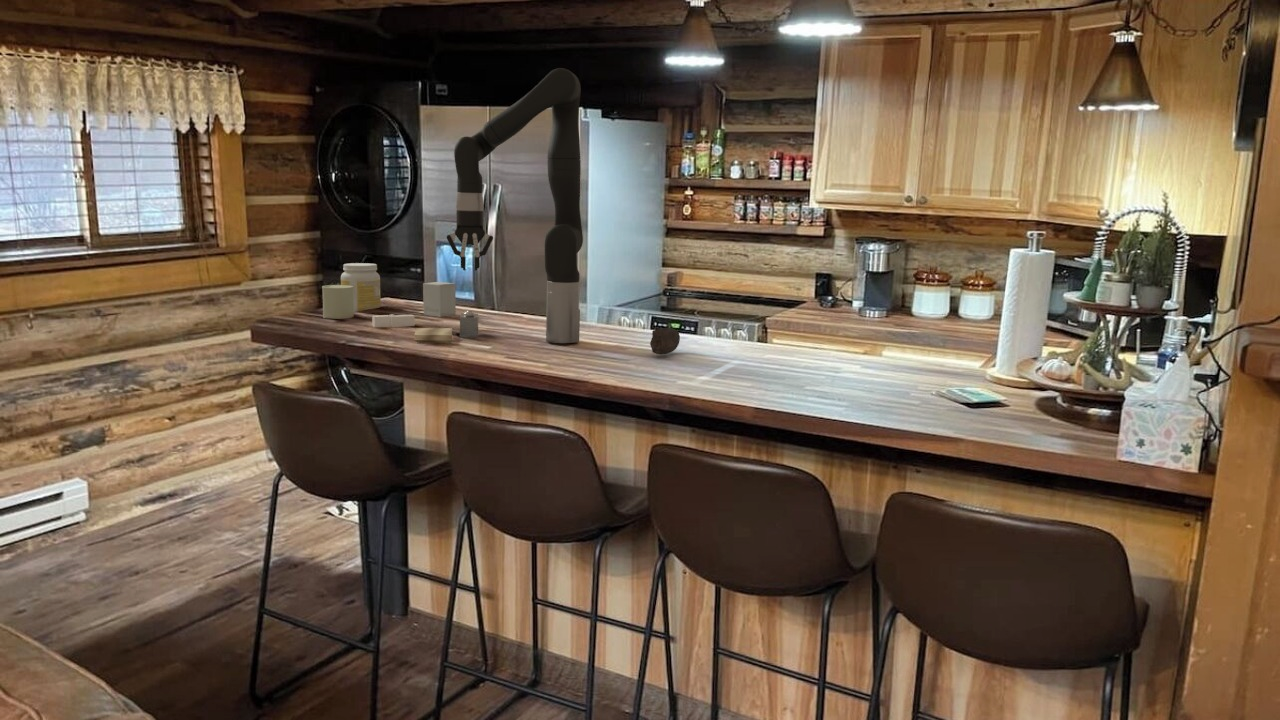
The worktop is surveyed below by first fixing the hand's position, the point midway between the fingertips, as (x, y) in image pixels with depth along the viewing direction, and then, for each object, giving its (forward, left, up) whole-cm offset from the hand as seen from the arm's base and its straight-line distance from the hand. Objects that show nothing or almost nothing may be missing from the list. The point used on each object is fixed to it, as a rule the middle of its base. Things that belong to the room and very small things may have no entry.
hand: (469, 269), depth 273 cm
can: (+39, -22, -19) cm, 49 cm away
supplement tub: (+34, -40, -19) cm, 56 cm away
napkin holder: (+22, -7, -20) cm, 31 cm away
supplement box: (+9, -26, -19) cm, 34 cm away
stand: (+10, +9, -19) cm, 23 cm away
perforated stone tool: (-52, +29, -19) cm, 63 cm away
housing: (0, 0, -19) cm, 19 cm away
